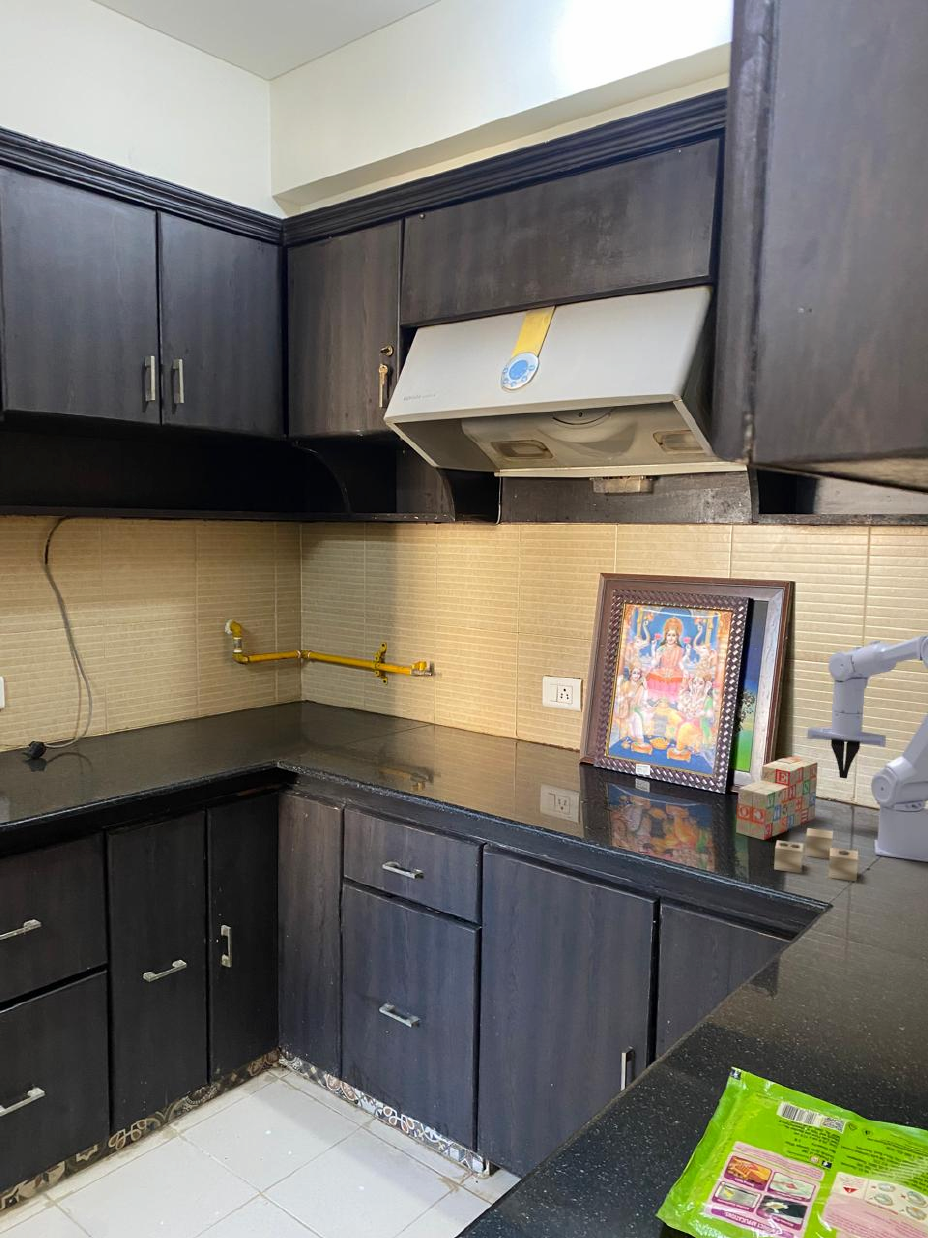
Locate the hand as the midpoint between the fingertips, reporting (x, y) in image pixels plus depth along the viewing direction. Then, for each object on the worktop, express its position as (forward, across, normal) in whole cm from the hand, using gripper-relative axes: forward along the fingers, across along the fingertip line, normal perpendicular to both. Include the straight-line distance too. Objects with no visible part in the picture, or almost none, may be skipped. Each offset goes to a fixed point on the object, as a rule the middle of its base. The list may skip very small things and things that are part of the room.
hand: (843, 777), depth 187 cm
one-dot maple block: (+10, -1, +28) cm, 30 cm away
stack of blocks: (+11, +12, +4) cm, 17 cm away
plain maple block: (+10, +4, +18) cm, 22 cm away
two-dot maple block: (+10, +8, +28) cm, 31 cm away
